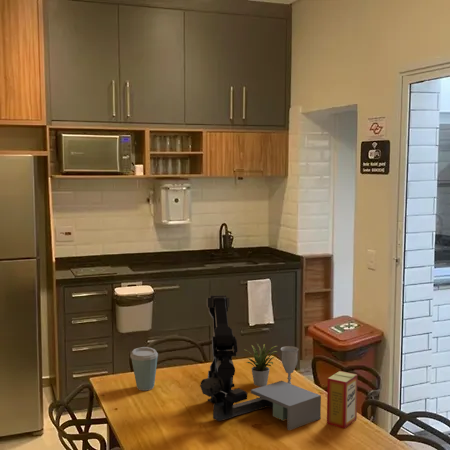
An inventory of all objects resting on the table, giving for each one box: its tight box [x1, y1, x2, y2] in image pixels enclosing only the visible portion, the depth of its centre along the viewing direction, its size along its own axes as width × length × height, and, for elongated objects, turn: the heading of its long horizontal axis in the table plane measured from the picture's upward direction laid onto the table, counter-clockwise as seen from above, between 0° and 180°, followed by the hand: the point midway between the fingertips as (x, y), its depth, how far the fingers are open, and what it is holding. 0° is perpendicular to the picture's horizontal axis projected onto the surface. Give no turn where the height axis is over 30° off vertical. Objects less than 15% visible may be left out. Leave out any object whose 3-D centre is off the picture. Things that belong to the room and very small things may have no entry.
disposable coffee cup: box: [130, 346, 159, 392], centre depth 240 cm, size 11×11×15 cm
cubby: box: [250, 380, 322, 431], centre depth 213 cm, size 19×15×8 cm
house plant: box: [243, 343, 278, 387], centre depth 244 cm, size 14×14×16 cm
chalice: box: [280, 345, 299, 384], centre depth 232 cm, size 7×7×18 cm
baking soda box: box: [326, 370, 359, 429], centre depth 208 cm, size 10×6×16 cm
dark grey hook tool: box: [212, 396, 273, 422], centre depth 214 cm, size 9×25×5 cm, turn 129°
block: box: [272, 403, 288, 421], centre depth 213 cm, size 5×5×5 cm
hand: (223, 413), depth 210 cm, fingers closed on dark grey hook tool, 3 cm apart
